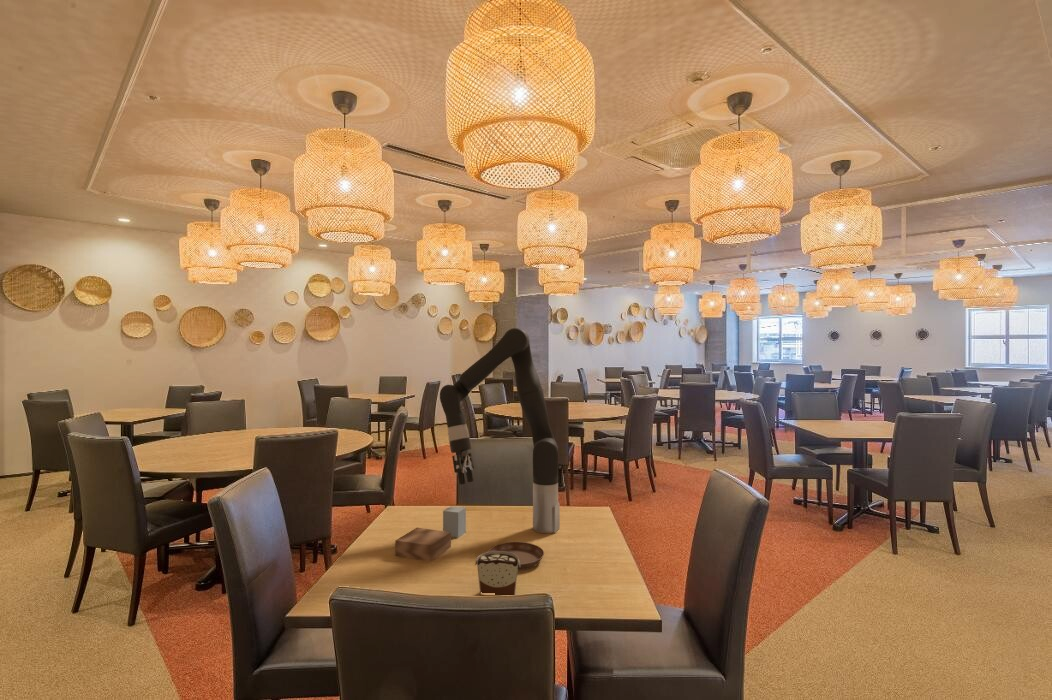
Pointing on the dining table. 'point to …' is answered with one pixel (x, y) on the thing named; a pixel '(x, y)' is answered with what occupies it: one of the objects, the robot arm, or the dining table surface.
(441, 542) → the walnut block
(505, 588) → the cake slice
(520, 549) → the plant saucer
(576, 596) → the dining table surface
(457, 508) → the slate block
